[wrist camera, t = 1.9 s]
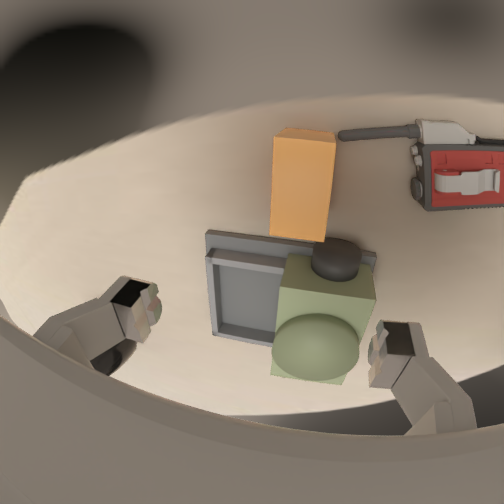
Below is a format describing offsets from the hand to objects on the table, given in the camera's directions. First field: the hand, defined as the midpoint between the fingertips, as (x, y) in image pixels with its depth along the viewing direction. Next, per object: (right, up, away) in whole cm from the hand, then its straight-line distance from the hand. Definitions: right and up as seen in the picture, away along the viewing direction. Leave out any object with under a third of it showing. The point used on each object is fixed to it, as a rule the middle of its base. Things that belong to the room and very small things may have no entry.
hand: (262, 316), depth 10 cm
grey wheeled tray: (+4, -3, +25) cm, 26 cm away
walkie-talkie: (+18, +11, +13) cm, 25 cm away
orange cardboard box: (+5, +10, +17) cm, 21 cm away
